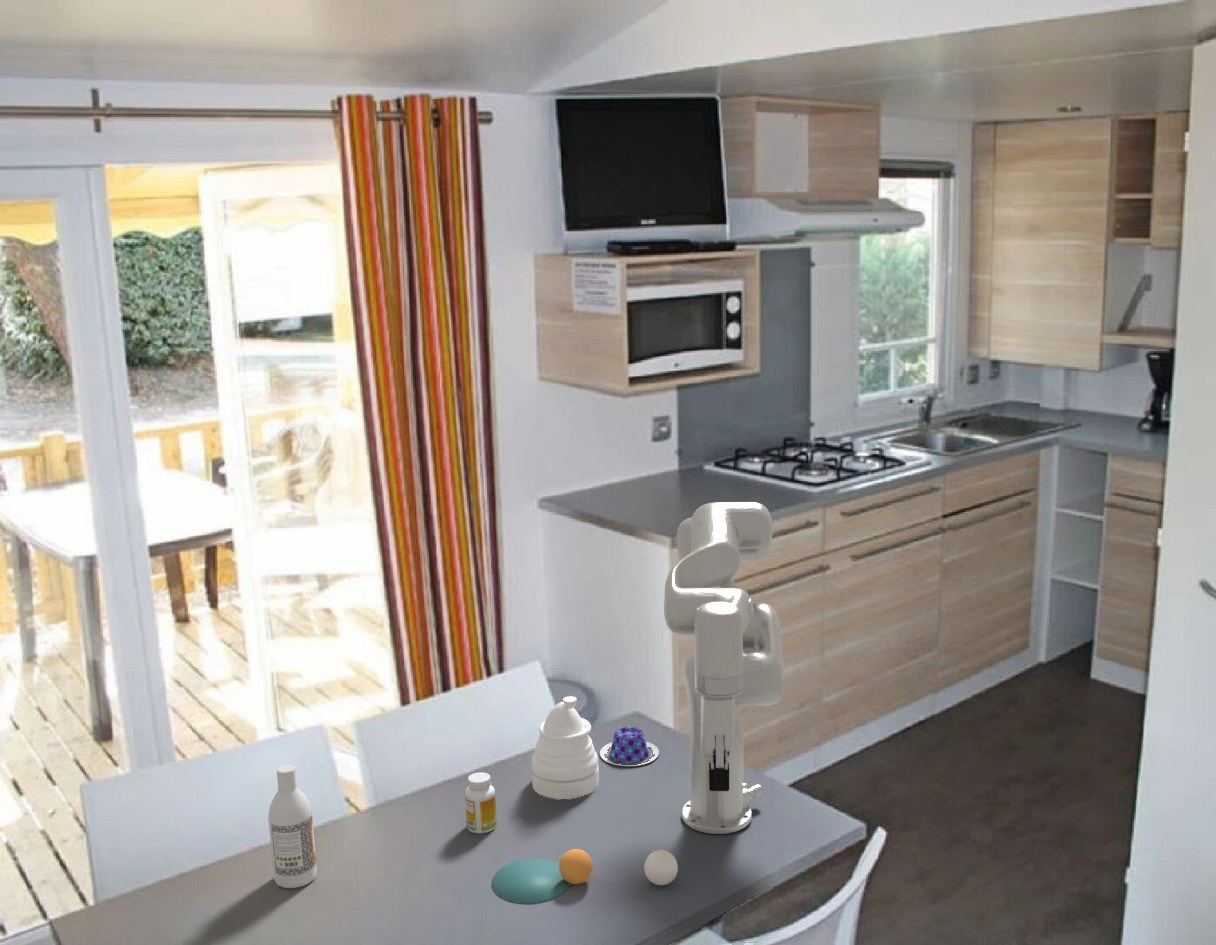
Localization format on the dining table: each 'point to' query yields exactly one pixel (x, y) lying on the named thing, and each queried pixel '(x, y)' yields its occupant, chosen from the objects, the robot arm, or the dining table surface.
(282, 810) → the bath foam
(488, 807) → the supplement bottle
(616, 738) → the pudding
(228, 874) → the dining table surface
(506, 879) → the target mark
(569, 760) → the honey pot
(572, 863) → the orange ball
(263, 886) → the dining table surface
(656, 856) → the white ball
